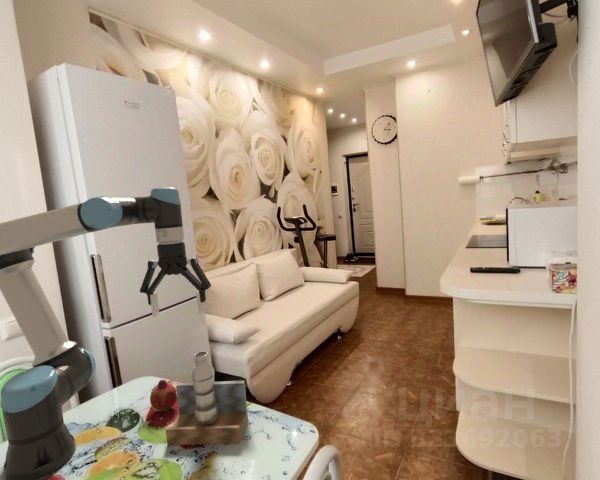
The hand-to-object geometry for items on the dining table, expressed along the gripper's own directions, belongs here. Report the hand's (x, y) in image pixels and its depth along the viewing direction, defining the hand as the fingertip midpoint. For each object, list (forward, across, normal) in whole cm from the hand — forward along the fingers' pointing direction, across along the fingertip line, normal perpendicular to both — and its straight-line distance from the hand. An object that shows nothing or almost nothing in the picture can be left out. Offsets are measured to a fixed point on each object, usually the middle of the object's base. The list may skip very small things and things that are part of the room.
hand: (178, 314), depth 102 cm
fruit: (+33, -10, +5) cm, 35 cm away
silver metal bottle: (+30, +8, -6) cm, 32 cm away
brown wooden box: (+33, +8, -6) cm, 34 cm away
